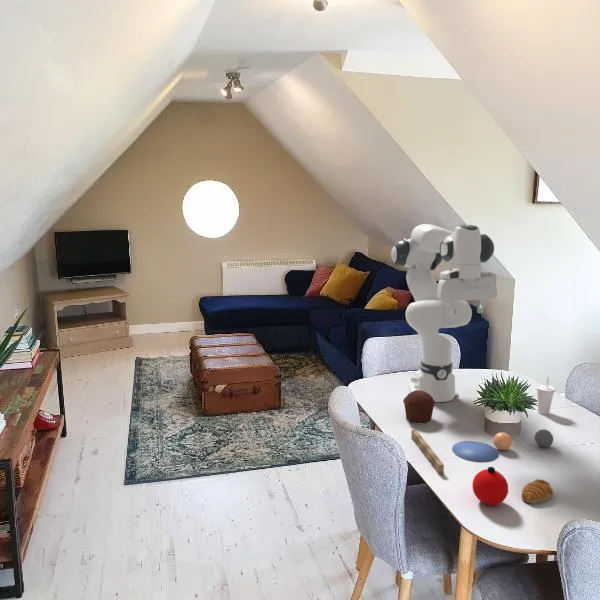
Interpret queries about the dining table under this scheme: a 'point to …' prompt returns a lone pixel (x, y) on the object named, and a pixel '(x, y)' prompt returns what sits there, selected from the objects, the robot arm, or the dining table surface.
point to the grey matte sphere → (543, 438)
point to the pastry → (537, 492)
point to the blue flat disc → (475, 451)
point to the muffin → (419, 407)
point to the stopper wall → (427, 452)
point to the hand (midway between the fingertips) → (466, 313)
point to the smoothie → (544, 398)
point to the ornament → (490, 486)
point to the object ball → (502, 441)
